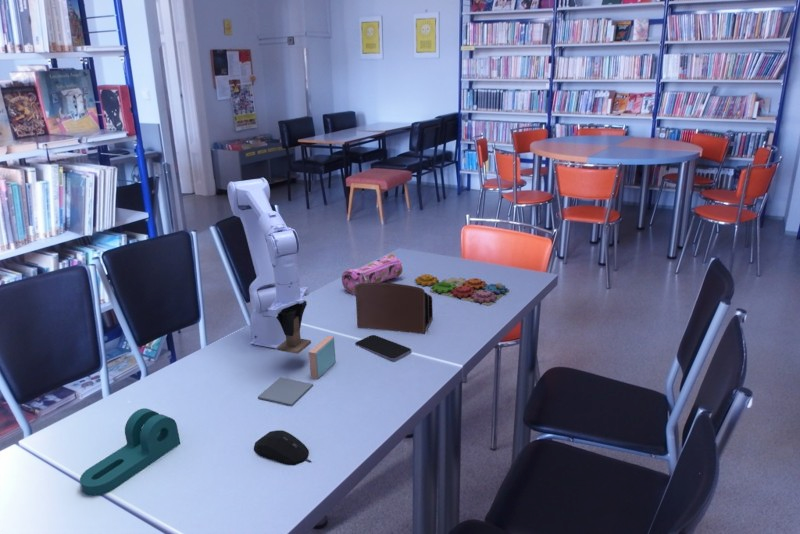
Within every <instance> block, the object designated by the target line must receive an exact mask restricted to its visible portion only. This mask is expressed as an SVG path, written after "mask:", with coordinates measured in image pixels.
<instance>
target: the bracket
mask: <svg viewBox="0 0 800 534" xmlns="http://www.w3.org/2000/svg"><path fill="white" fill-rule="evenodd" d="M124 436H125V440H126V441H125V442H126V444H125V445H124V446H122V447H121V448H118V450H116V451H114V452H112V453H111V454H109V455H108V456H106V457H105V458H103V459H101V460H100V461H98V462H97V463H95V464H93V465H92V466H90V467H88V468H87V469H86V470H84V472H82V473H81V476H80V478H79V482H80V485H81V490H82V492H83V493H84V494H85V495H86V496H90V497H95V496H97V497H98V496H103V495H105V494H107V493H111V492H112V491H114V490H115V489H117V488H118V487H120V486H121V485H123V484H124V483H126V482H127V481H129V480H131V478H133V477H134V476H136V475H137V474H139V473H140V472H141V471H143V470H145V469H147V467H149V466H150V465H151V464H153V463H155V462H157V461H158V460H160V459H161V458H162V457H163V456H165V455H166V454H168V453H169V452H171V451H172V450H174V449H175V448H177V447H178V446H179V445H181V440H180V434H179V429H178V424H177V422H176V421H175V419H173V418H172V417H170V416H166V415H165V414H161V413H159V412H157V411H154V410H153V409H150V408H145V407H144V408H140V409H137V410H135V411H134V412H133V413H132V414H131V415H130V416H129V418H128V419H127V421H126V423H125V426H124Z"/></svg>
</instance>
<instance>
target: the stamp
mask: <svg viewBox="0 0 800 534" xmlns="http://www.w3.org/2000/svg"><path fill="white" fill-rule="evenodd" d="M311 344H312V340H311V339H305V338H301V327H299V317H298V316H295V317H294V333H293V336H288V335H286V341H284V342H283V343H282V344H280V345H279V346H278V347H277V349H276V351H278V352H279V351H280V352H286V353H291V354H297V355H299V354H300V353H301V352H302V351H304V350H305V349H306V348H307V347H308V346H310V345H311Z"/></svg>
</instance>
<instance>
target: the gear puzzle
mask: <svg viewBox="0 0 800 534" xmlns="http://www.w3.org/2000/svg"><path fill="white" fill-rule="evenodd" d="M414 282H416V285H421V287H424V286H428V287H429V288H430V290H429V293H431V294H437V293H438V294H441V296H443V297H449V298H451V299H452V298H453V299H456V298H458V299H460V300H461V301H466V302H470V303H474V304H476V303H481V304H482V306H487V307H489V306H491V305H493V304H494V302H496V301H498V300H500V299H501V298H503V297H504V294H507V293H509V292H510V289H509V288H508V287H506V285H503V284H502V283H501V282H497V283H496V284H495V283H490V284H488V283H486V281H485V280H482V279H481V278H478V277H476V278H475V277H474V278H473V277H472V278H469V279H468V280H466V278H464V277H459V278H457V277H450V278H448V279H447V278H445V279H443V280H442V281H440V280H439V279H438V277H437V276H433V274H430V273H429V274H421V275H420V276H417V278H415V279H414Z"/></svg>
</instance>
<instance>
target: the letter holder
mask: <svg viewBox="0 0 800 534" xmlns="http://www.w3.org/2000/svg"><path fill="white" fill-rule="evenodd" d="M355 290H356V295H355V305H356V306H355V307H356V308H355V309H356V326H357V328H358V329H368V328H369V329H370V330H380V331H391V332H399V331H400V332H401V333H410V332H411V333H413V334H420V333H421V334H422V335H426V333H427V330H428V329H429V327H430V325H431V323H432V322H433V318H434V317H433V316H434V315H433V311H434V310H433V309H434V308H433V297H432V295H430V294H429V293H428V292H426V291H425V290H424V288H421V287H418V286H413V285H408V284H403V283H395V282H394V283H393V282H380V283H361V284H357V285H356V288H355ZM369 329H368V330H369Z"/></svg>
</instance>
